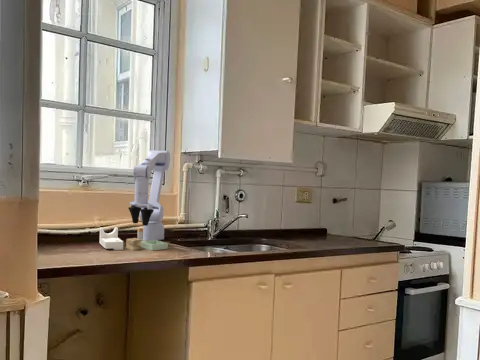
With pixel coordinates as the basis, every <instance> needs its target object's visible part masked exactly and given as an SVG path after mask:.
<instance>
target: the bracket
mask: <svg viewBox="0 0 480 360" xmlns="http://www.w3.org/2000/svg"><path fill="white" fill-rule="evenodd" d="M118 235H119V228H118V227H116V226H114V229H113V231H111V232H109V233H107V232H105V231H104V227H99V242H98V243H99V244H100V245H101V246H102V248H104V249H109V250H110V249H112V250H114V251H122V250H124V240H122V239H121V238H120V237H118Z"/></svg>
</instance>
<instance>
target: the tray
mask: <svg viewBox="0 0 480 360" xmlns="http://www.w3.org/2000/svg"><path fill="white" fill-rule="evenodd" d="M141 249H145V250H149V251H160V250H168V249H169V243H168V242H165V241H161V240H151V241H149V240H147V241H141Z"/></svg>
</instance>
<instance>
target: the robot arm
mask: <svg viewBox="0 0 480 360" xmlns="http://www.w3.org/2000/svg"><path fill="white" fill-rule="evenodd" d="M170 160H171V154H170V151H169V150H155V149H154V150H153V149H149V150H148V152H147V157H145V158H144V159H143V161H142V162H140V163H139V164H137V165H135V166H133V167H134V168H133V181H134V200H133V201H130V202H129V207H127V208H128V211H129V213H130V217H131V220H132V223H133V224H139V220H140V221H141V223H142V224H141V225H142V226H143V227H142V229H143V235H142V239H143V240H147V241H151V240H158V241H161V240H165V225H164V224H163V222H162V221H163V220H164V219H163V218H164V207H163V205H162V204H161V203H160V196H161V191H162V184H163V180H164V175H165V172H166V171H168V169H169V168H170V167H169V166H170V162H171V161H170ZM152 171H153V176H152ZM151 176H152V180H151V186H150V192H149V183H150V181H149V180H150V179H151Z"/></svg>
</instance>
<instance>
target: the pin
mask: <svg viewBox="0 0 480 360" xmlns="http://www.w3.org/2000/svg"><path fill="white" fill-rule="evenodd" d="M136 231H137V237H136V239H140V240H141V241H142V239H143V228H137V230H136Z"/></svg>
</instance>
